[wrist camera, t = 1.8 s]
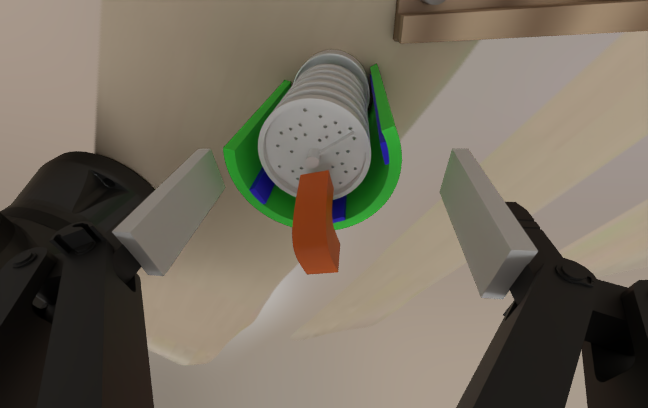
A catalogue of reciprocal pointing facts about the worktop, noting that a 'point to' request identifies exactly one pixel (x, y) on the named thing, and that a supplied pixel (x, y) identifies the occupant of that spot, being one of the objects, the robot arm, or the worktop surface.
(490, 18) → the housing
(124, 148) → the worktop surface
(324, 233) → the green-shelled ribbed roller
